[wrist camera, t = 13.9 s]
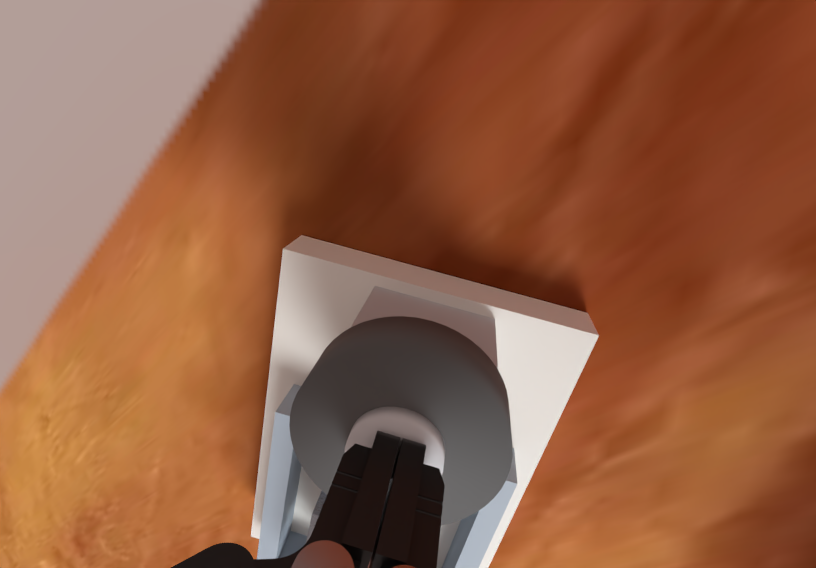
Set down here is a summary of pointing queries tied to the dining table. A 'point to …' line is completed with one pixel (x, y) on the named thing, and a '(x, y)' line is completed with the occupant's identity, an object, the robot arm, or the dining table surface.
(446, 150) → the dining table surface
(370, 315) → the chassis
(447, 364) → the wheel
